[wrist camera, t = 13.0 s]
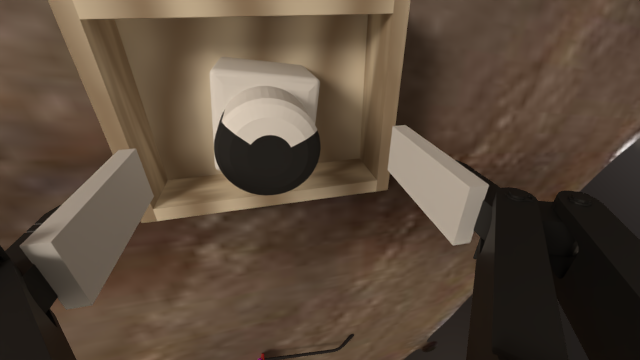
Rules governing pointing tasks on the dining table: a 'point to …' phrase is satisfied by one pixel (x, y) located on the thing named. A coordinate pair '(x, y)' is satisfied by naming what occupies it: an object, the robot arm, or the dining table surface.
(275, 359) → the glasses
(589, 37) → the dining table surface
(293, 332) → the dining table surface
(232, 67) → the medicine bottle
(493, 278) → the robot arm
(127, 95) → the birch box
